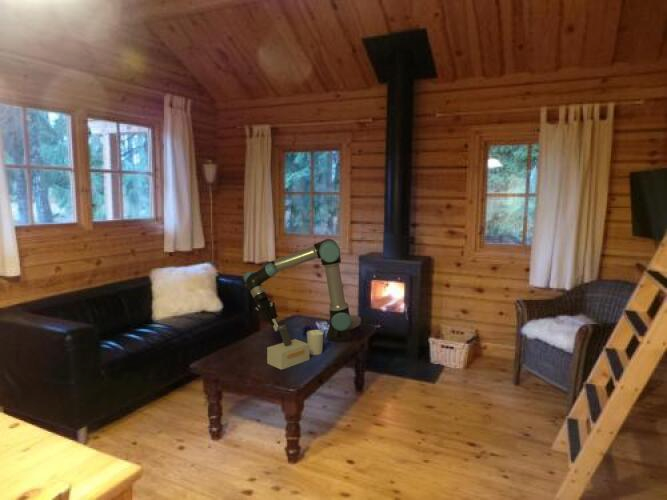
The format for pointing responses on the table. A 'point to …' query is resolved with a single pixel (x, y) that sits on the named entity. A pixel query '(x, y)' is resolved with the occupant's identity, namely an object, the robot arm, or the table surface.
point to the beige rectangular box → (287, 354)
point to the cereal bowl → (354, 321)
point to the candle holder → (315, 341)
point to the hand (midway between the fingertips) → (277, 329)
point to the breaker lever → (285, 334)
